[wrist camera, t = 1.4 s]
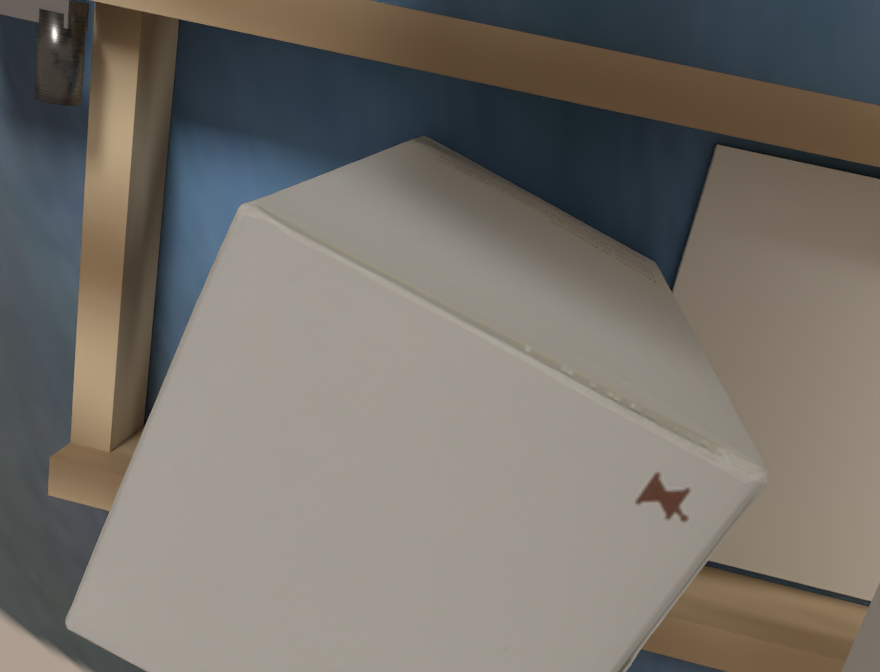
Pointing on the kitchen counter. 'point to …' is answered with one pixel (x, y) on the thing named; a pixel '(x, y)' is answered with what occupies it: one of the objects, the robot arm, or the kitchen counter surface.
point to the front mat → (795, 357)
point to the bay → (456, 55)
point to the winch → (55, 46)
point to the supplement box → (418, 442)
